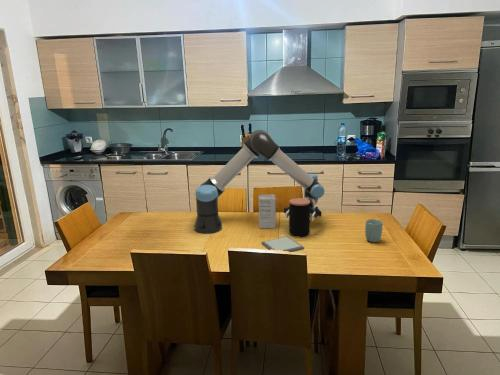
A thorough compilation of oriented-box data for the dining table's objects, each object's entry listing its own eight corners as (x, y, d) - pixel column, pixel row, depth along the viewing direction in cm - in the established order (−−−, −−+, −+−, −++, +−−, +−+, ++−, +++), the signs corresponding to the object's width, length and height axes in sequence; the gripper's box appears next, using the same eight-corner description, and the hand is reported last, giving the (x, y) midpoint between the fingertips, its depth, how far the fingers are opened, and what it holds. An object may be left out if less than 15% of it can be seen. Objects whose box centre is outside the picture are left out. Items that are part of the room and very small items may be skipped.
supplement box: (276, 228, 202) (275, 198, 198) (259, 228, 202) (258, 199, 198) (275, 222, 211) (275, 194, 207) (259, 222, 211) (258, 194, 207)
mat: (261, 243, 182) (261, 241, 182) (287, 238, 188) (287, 235, 188) (276, 255, 169) (276, 252, 168) (303, 249, 175) (303, 246, 174)
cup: (373, 245, 177) (374, 225, 175) (361, 239, 184) (362, 220, 182) (384, 241, 181) (386, 222, 178) (372, 236, 188) (374, 218, 185)
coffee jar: (311, 231, 196) (312, 199, 192) (306, 238, 187) (306, 204, 182) (292, 228, 200) (293, 197, 196) (286, 235, 191) (286, 202, 187)
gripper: (329, 213, 205) (323, 226, 186) (285, 209, 214) (275, 221, 194) (329, 200, 204) (323, 212, 184) (285, 197, 212) (275, 208, 193)
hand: (299, 217), depth 189 cm, fingers open, 13 cm apart
